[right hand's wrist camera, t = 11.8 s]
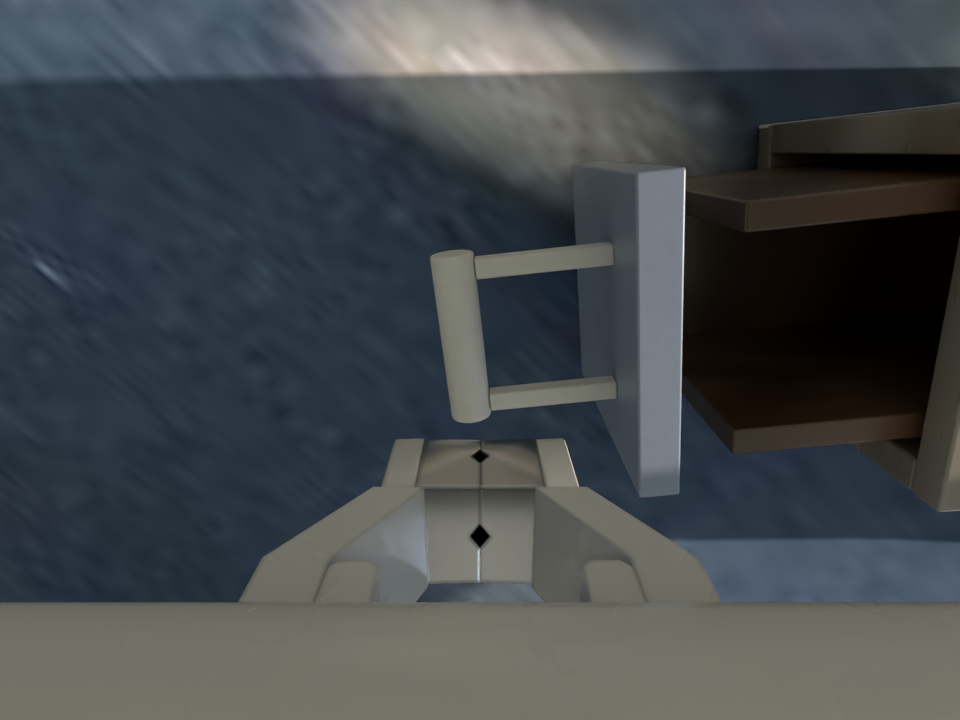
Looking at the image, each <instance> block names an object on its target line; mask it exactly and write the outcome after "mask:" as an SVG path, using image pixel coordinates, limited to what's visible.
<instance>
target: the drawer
mask: <svg viewBox="0 0 960 720" xmlns="http://www.w3.org/2000/svg"><path fill="white" fill-rule="evenodd" d="M572 175H573V196H574V217H575V238H576V245H575V246H566V247H557V248H547V249H538V250H529V251H520V252H510V253H501V254H492V255H483V256H475V258H474V253H473V251H470V250H451V251H444V252H439V253H436V254H434V255H432V256H431V257H430V263H431V270H432V277H433V284H434V291H435V299H436V306H437V313H438V320H439V327H440V335H441V342H442V349H443V356H444V363H445V371H446V378H447V385H448V392H449V399H450V406H451V414H452V417H453V419H454V420H455V421H457V422H461V423H474V422H479V421H482V420H484V419H486V418H487V417H489V416H490V414H491V410H503V409H514V408H524V407H534V406H544V405H555V404H565V403H575V402H586V401H595V402H596V404H597V407H598V409H599V411H600V413H601V415H602V418H603V420H604V422H605V424H606V426H607V429H608V431H609V433H610V435H611V437H612V439H613V442H614V444H615V446H616V448H617V450H618V453H619V455H620V457H621V459H622V461H623V463H624V466H625V468H626V470H627V472H628V474H629V477H630V479H631V481H632V483H633V485H634V488H635V490H636V492H637V494H638V496H639V497H641V498H643V497H654V496H665V495H676V494H679V491H680V441H681V393H682V394H683V395H684V396H685V398H686V399H687V400H688V401H689V402H690V404H691V405H692V406H693V407H694V408H695V410H696V411H697V412H698V413H699V414H700V416H701V417H702V418H703V419H704V420H705V422H706V423H707V424H708V425H709V426H710V428H711V429H712V430H713V431H714V432H715V434H716V435H717V436H718V437H719V438H720V440H721V441H722V442H723V443H724V444H725V446H726V447H727V448H728V449H729V450H730V452H731V453H732V454H739V453H750V452H761V451H772V450H783V449H793V448H804V447H815V446H826V445H837V444H847V443H858V442H869V441H880V440H891V439H901V438H912V437H922V432H923V426H924V421H925V416H926V410H927V405H928V400H929V394H930V389H931V384H932V379H933V373H934V368H935V363H936V357H937V352H938V347H939V342H940V336H941V331H942V326H943V320H944V315H945V310H946V305H947V299H948V294H949V289H950V283H951V278H952V273H953V268H954V262H955V257H956V252H957V246H958V241H959V236H960V155H901V154H890V155H881V156H872V157H864V158H855V159H846V160H837V161H828V162H819V163H810V164H801V165H792V166H783V167H774V168H765V169H756V170H747V171H738V172H729V173H720V174H711V175H703V176H694V177H686V169H685V167H681V166H667V165H654V164H641V163H627V162H614V161H601V160H600V161H591V162H582V163H574V164H573V165H572ZM571 269H577V280H578V301H579V322H580V343H581V364H582V374H583V376H584V378H582V379H572V380H562V381H552V382H542V383H532V384H521V385H511V386H501V387H491V388H489V386H488V377H487V368H486V359H485V350H484V341H483V332H482V323H481V314H480V305H479V296H478V288H477V279H487V278H496V277H505V276H515V275H524V274H534V273H543V272H552V271H562V270H571ZM476 278H477V279H476Z"/></svg>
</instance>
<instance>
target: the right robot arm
mask: <svg viewBox="0 0 960 720" xmlns="http://www.w3.org/2000/svg"><path fill="white" fill-rule="evenodd" d="M479 582H480V583H516V584H532V587H533V588H534V590H535V591H536V592H537V593H538V594H539V596H540V597H541V598H542V599H543V601H544V602H416V601H417V600H418V599H419V597H420V596H421V595H422V594H423V593H424V591H425V590H426V589H427V588H428V584H444V583H479ZM0 720H960V602H722V601H721V599H720V597H719V595H718V594H717V592H716V590H715V588H714V586H713V584H712V582H711V581H710V579H709V577H708V575H707V573H706V571H705V569H704V567H703V566H702V564H701V562H700V560H699V558H697V557H696V556H694V555H693V554H691V553H690V552H688V551H686V550H685V549H683V548H682V547H680V546H679V545H677V544H676V543H674V542H672V541H671V540H669V539H668V538H666V537H665V536H663V535H662V534H660V533H658V532H657V531H655V530H654V529H652V528H651V527H649V526H647V525H646V524H644V523H643V522H641V521H640V520H638V519H637V518H635V517H633V516H632V515H630V514H629V513H627V512H626V511H624V510H622V509H621V508H619V507H618V506H616V505H615V504H613V503H612V502H610V501H608V500H607V499H605V498H604V497H602V496H601V495H599V494H597V493H596V492H594V491H593V490H591V489H590V488H588V487H579V485H578V481H577V478H576V475H575V471H574V468H573V465H572V462H571V458H570V455H569V452H568V448H567V445H566V442H565V440H564V439H562V438H557V439H536V440H535V439H507V440H450V439H425V440H424V439H423V438H418V439H397V440H395V441H394V444H393V448H392V451H391V454H390V458H389V461H388V465H387V468H386V471H385V475H384V478H383V481H382V485H381V487H372V488H370V489H369V490H367V491H366V492H364V493H362V494H361V495H359V496H358V497H356V498H355V499H353V500H352V501H350V502H348V503H347V504H345V505H344V506H342V507H341V508H339V509H337V510H336V511H334V512H333V513H331V514H330V515H328V516H326V517H325V518H323V519H322V520H320V521H319V522H317V523H315V524H314V525H312V526H311V527H309V528H308V529H306V530H304V531H303V532H301V533H300V534H298V535H297V536H295V537H293V538H292V539H290V540H289V541H287V542H286V543H284V544H282V545H281V546H279V547H278V548H276V549H275V550H273V551H271V552H270V553H268V554H267V555H265V556H264V557H262V559H261V561H260V562H259V564H258V566H257V568H256V570H255V572H254V573H253V575H252V577H251V579H250V581H249V583H248V585H247V586H246V588H245V590H244V592H243V594H242V596H241V597H240V599H239V601H238V602H0Z"/></svg>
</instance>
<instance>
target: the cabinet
mask: <svg viewBox="0 0 960 720" xmlns="http://www.w3.org/2000/svg"><path fill="white" fill-rule="evenodd" d="M759 129H760V130H759V146H758V162H757V169H765V168H774V167H783V166H792V165H801V164H810V163H819V162H828V161H837V160H846V159H855V158H864V157H872V156H881V155H890V154H901V155H960V102H959V103H950V104H942V105H933V106H924V107H915V108H907V109H898V110H889V111H881V112H872V113H863V114H854V115H846V116H837V117H828V118H820V119H811V120H802V121H793V122H785V123H776V124H767V125H759ZM851 444H852V445H853V446H855V447H856V448H857V449H859V450H860V451H861V452H862V453H864V454H865V455H866V456H867V457H869V458H870V459H871V460H872V461H874V462H875V463H876V464H878V465H879V466H880V467H881V468H883V469H884V470H885V471H886V472H888V473H889V474H890V475H891V476H893V477H894V478H895V479H897V480H898V481H899V482H900V483H902V484H903V485H904V486H905V487H907V488H908V489H911V490H912V492H913V493H914V494H915V495H917V496H918V497H919V498H920V499H922V500H923V501H924V502H925V503H927V504H928V505H929V506H931V507H932V508H933V509H934V510H936V511H937V512H951V511H960V236H959V241H958V246H957V252H956V257H955V262H954V268H953V273H952V278H951V283H950V289H949V294H948V299H947V305H946V310H945V315H944V320H943V326H942V331H941V336H940V342H939V347H938V352H937V357H936V363H935V368H934V373H933V379H932V384H931V389H930V394H929V400H928V405H927V410H926V416H925V421H924V426H923V432H922V437H912V438H901V439H891V440H880V441H869V442H858V443H851Z"/></svg>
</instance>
